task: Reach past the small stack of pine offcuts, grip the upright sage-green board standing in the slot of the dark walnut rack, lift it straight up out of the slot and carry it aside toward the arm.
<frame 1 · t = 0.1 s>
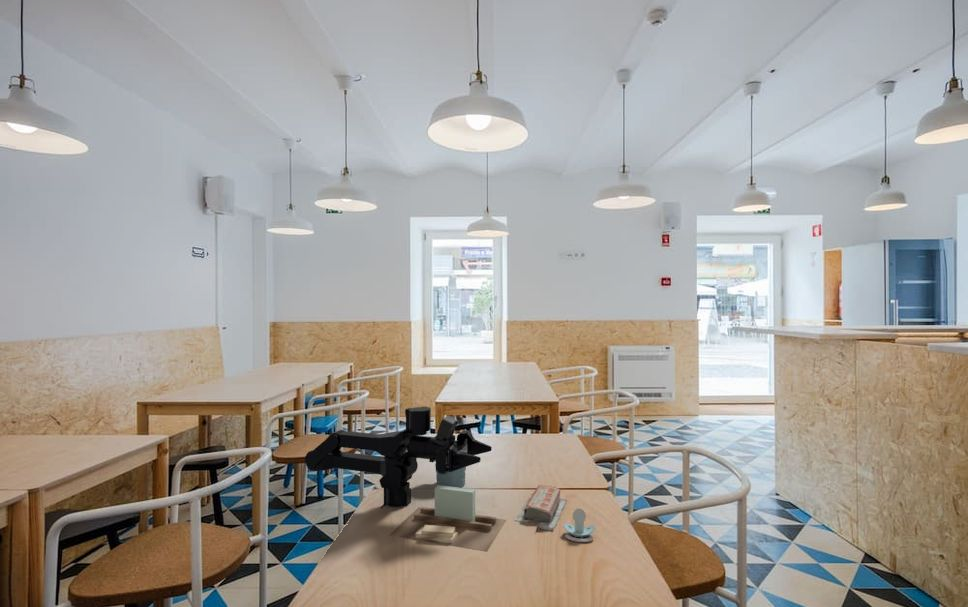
hand: (486, 454, 124), 17 cm above the table, tool horizontal, fingers open, 9 cm apart
pacifier: (579, 538, 115), on the table
green board: (454, 520, 121), point 1 cm above the table, touching rack
offcut lower: (436, 537, 112), point 1 cm above the table, touching offcut upper, rack
offcut upper: (438, 533, 112), point 2 cm above the table, touching offcut lower
rack: (449, 531, 117), on the table
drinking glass: (450, 485, 147), on the table
packaged product: (541, 515, 128), on the table
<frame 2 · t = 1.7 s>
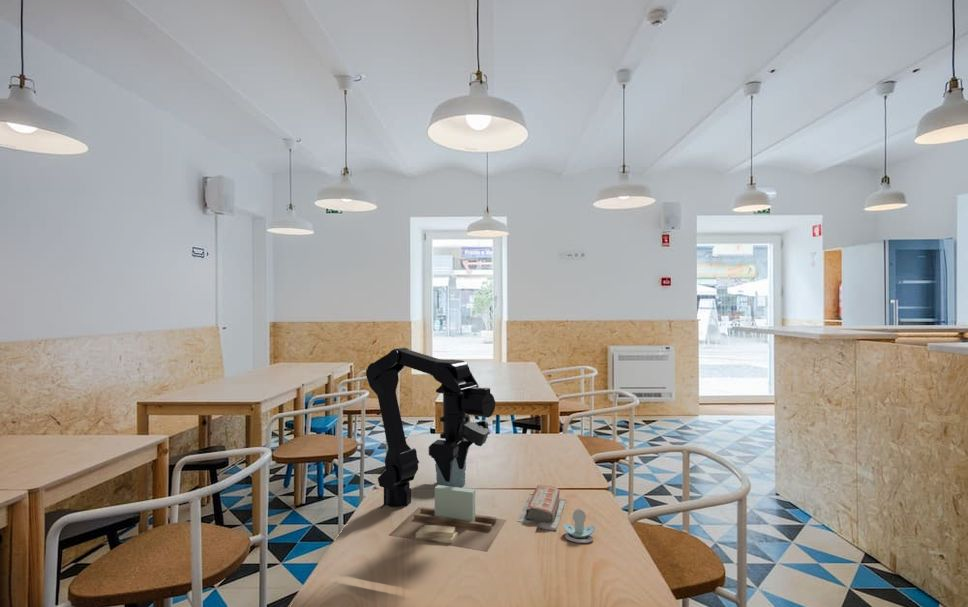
hand: (454, 474, 121), 12 cm above the table, tool pointing down, fingers open, 9 cm apart
nothing on the table moved.
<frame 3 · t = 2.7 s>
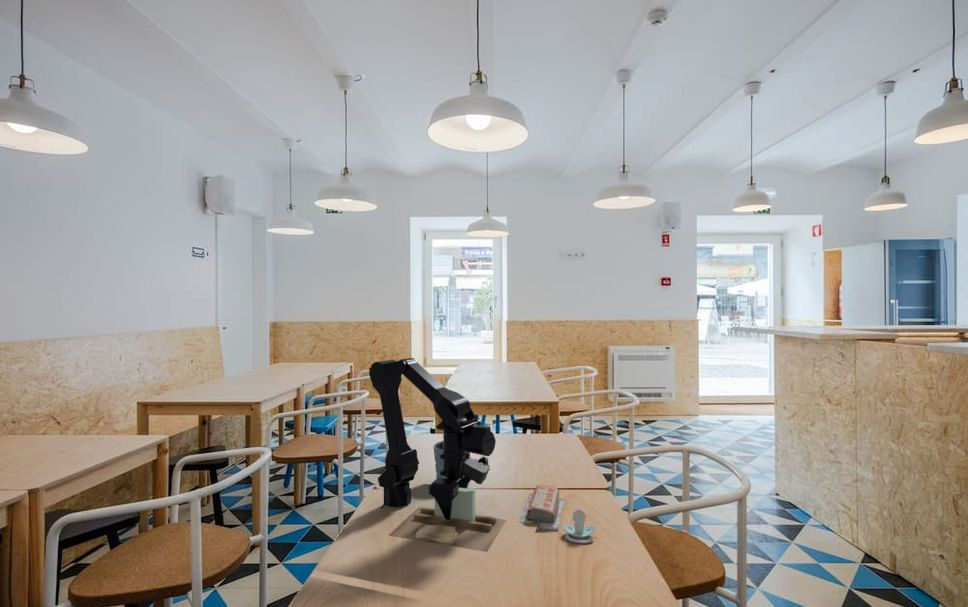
hand: (454, 511, 121), 3 cm above the table, tool pointing down, fingers open, 9 cm apart
nothing on the table moved.
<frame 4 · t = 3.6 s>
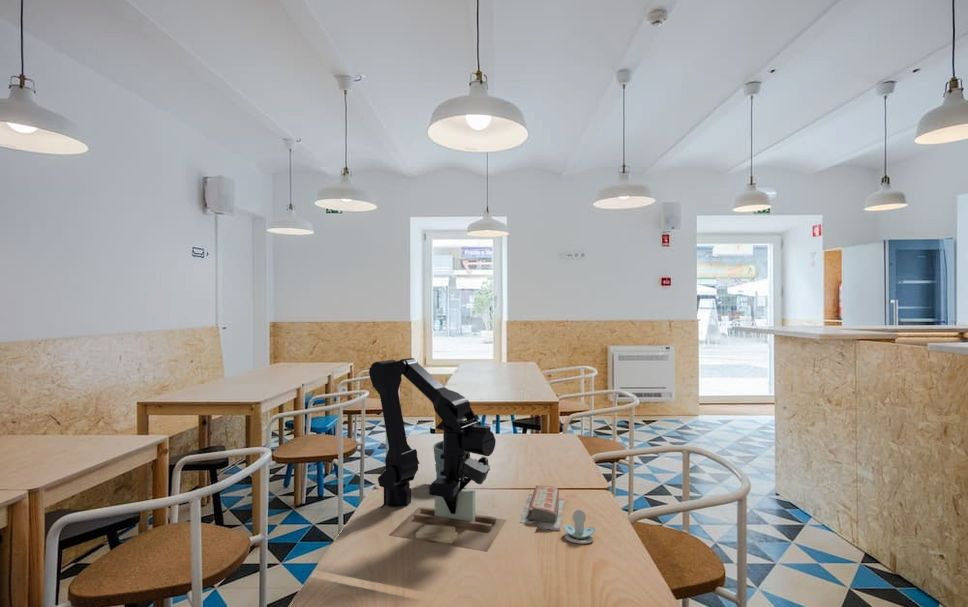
hand: (454, 511, 121), 3 cm above the table, tool pointing down, fingers closed on green board, 2 cm apart
green board: (454, 520, 121), point 1 cm above the table, touching gripper, rack
everything else where it was.
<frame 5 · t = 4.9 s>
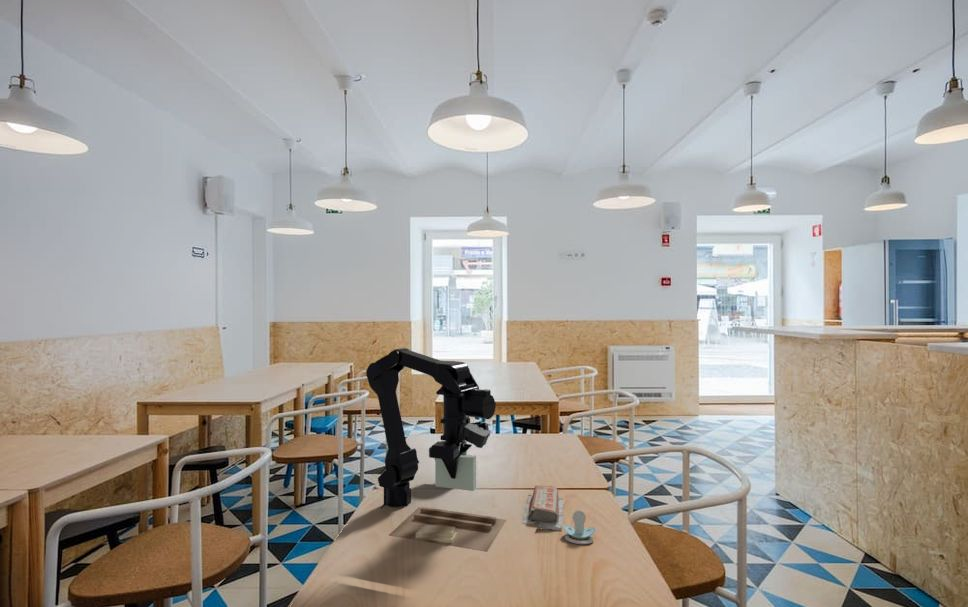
hand: (455, 476, 121), 12 cm above the table, tool pointing down, fingers closed on green board
green board: (455, 487, 121), point 9 cm above the table, touching gripper
everything else where it was.
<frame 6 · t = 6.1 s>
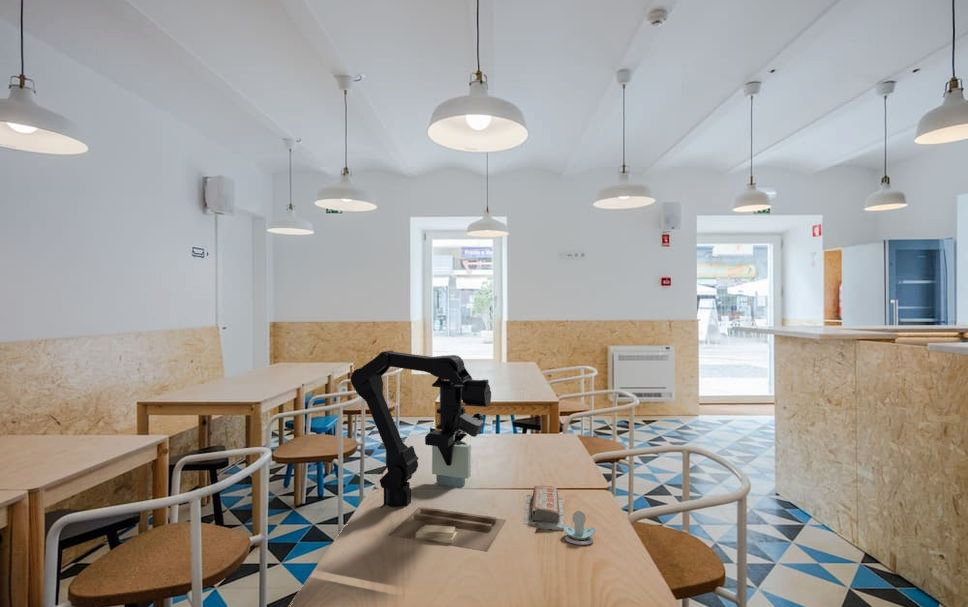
hand: (450, 464, 127), 13 cm above the table, tool pointing down, fingers closed on green board
green board: (451, 474, 127), point 10 cm above the table, touching gripper
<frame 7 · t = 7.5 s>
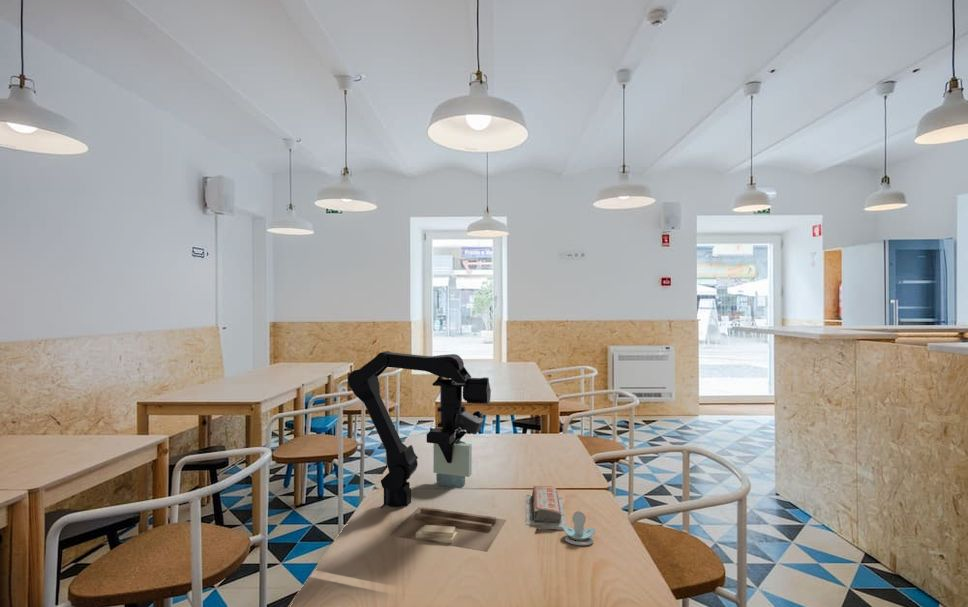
hand: (451, 461, 129), 13 cm above the table, tool pointing down, fingers closed on green board
green board: (452, 473, 129), point 10 cm above the table, touching gripper
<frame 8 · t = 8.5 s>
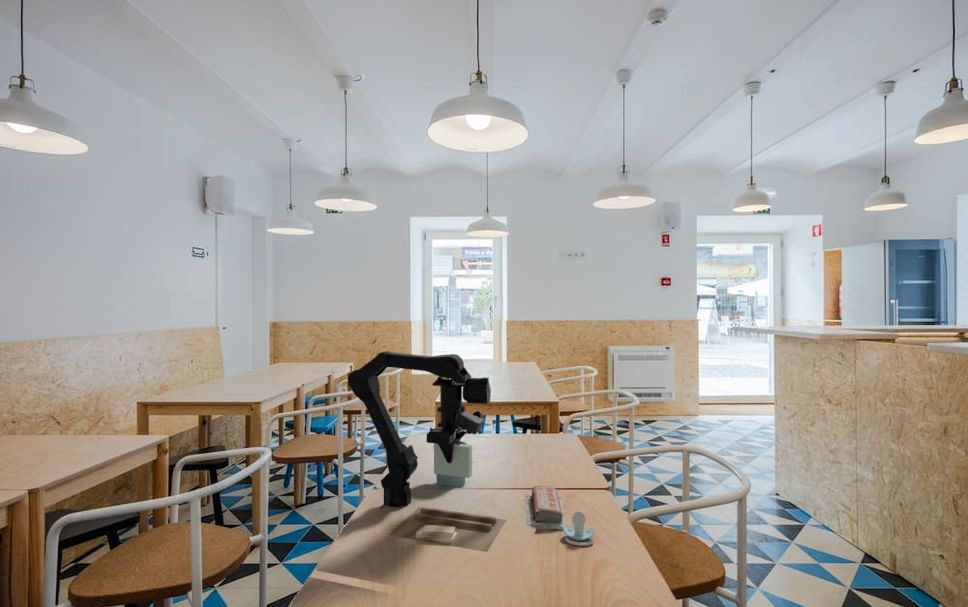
hand: (451, 461, 129), 13 cm above the table, tool pointing down, fingers closed on green board
green board: (452, 474, 129), point 10 cm above the table, touching gripper
at the end: the gripper is holding green board; green board point 9.5 cm above the table; offcut upper moved 0.0 cm from its start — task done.
